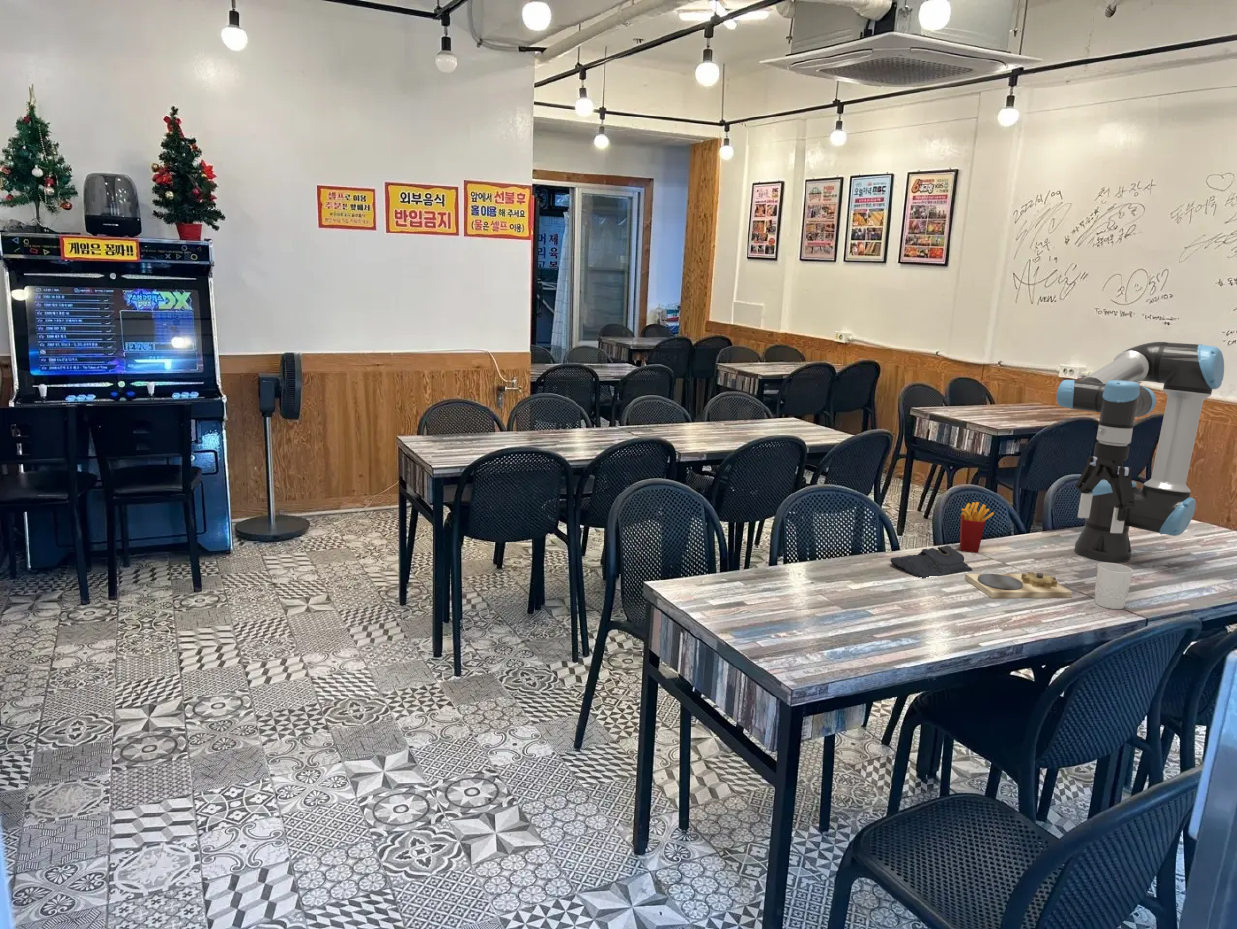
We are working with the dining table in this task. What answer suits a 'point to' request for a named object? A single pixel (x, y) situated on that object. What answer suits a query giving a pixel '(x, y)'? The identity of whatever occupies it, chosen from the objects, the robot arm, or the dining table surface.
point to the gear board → (1018, 585)
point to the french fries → (972, 527)
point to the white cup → (1112, 585)
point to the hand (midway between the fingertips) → (1099, 525)
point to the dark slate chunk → (933, 562)
